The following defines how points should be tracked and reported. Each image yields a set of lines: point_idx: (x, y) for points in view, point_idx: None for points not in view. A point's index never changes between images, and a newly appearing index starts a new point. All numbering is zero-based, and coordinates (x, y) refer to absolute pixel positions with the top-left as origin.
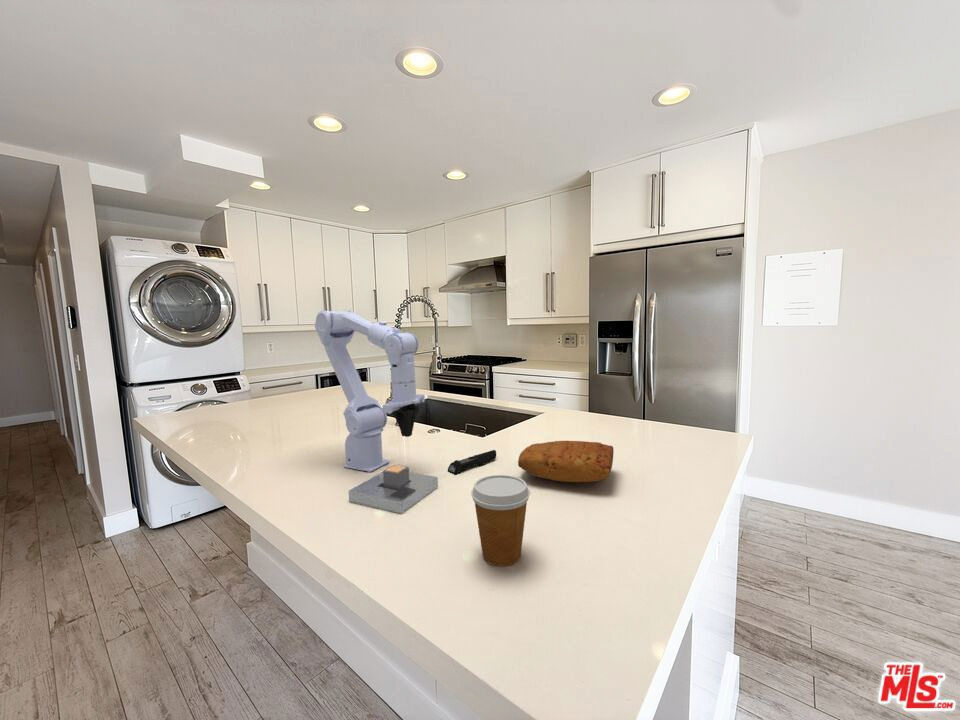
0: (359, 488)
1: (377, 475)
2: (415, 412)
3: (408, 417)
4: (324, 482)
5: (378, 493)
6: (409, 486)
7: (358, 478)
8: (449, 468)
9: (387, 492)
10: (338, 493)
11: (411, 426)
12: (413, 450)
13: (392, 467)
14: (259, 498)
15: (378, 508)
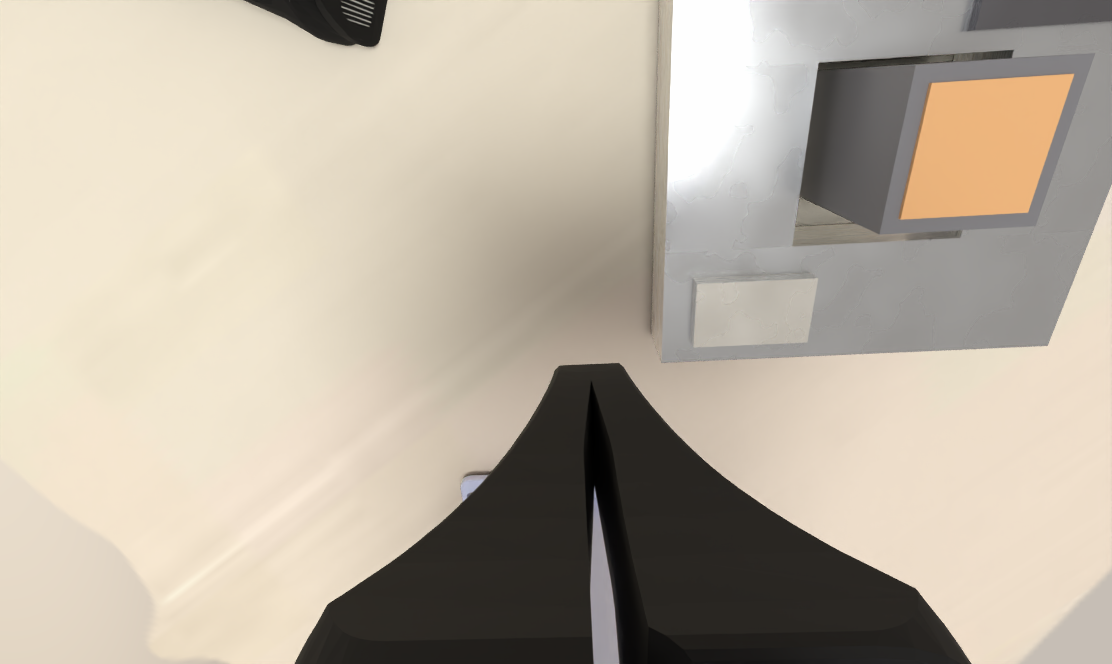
0: (1008, 312)
1: (790, 352)
2: (510, 572)
3: (782, 524)
4: None
5: (1080, 143)
6: (929, 1)
7: None
8: (360, 25)
9: None
10: (905, 428)
11: (586, 418)
12: (237, 482)
13: (957, 200)
14: (1005, 633)
15: None
